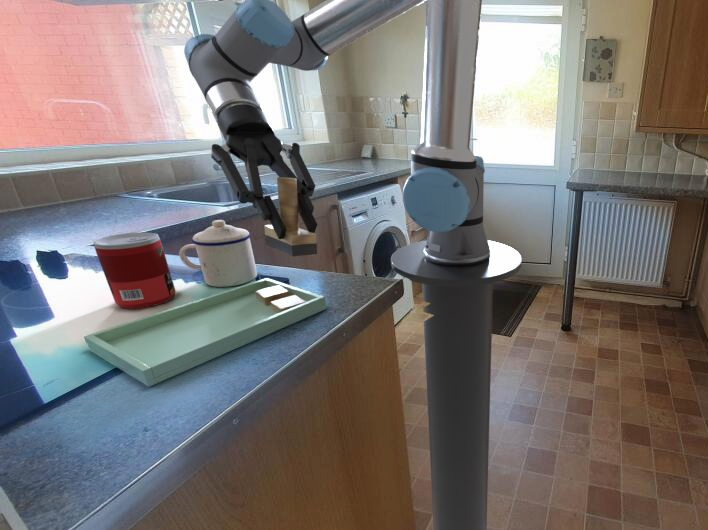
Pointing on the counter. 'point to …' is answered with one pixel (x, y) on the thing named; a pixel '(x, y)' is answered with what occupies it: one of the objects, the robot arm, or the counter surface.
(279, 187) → the brush
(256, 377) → the counter surface
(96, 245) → the canned food
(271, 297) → the cork piece
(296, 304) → the cork piece
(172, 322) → the tray
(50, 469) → the counter surface
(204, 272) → the teacup with lid
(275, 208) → the robot arm
